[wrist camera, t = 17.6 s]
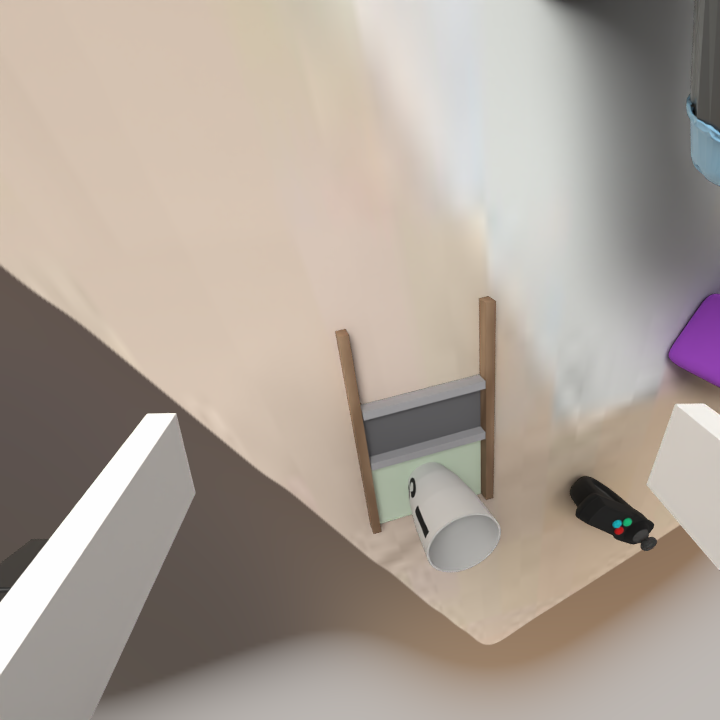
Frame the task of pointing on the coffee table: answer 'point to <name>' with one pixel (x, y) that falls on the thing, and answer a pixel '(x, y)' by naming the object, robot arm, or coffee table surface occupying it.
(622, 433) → the coffee table surface
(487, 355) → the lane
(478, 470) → the pad
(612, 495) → the controller
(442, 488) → the cup
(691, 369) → the toy camera
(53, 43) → the coffee table surface
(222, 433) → the coffee table surface
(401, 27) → the coffee table surface
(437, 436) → the tray
